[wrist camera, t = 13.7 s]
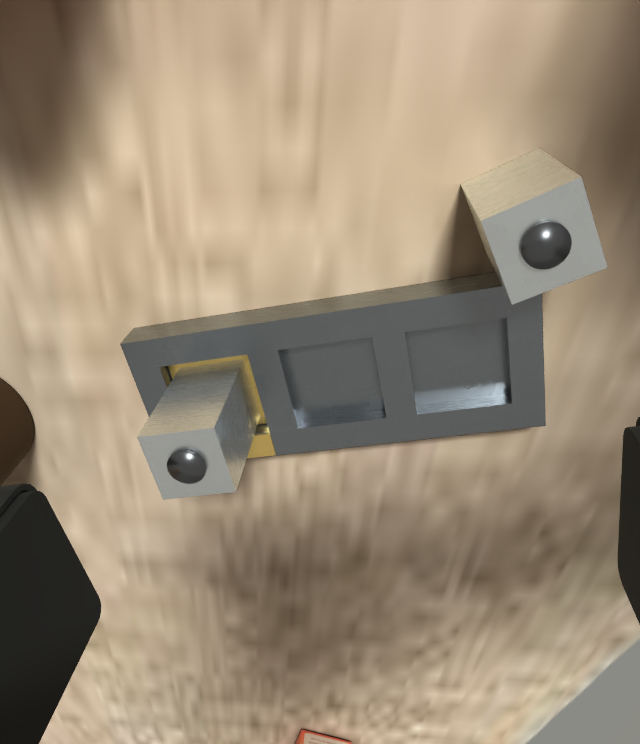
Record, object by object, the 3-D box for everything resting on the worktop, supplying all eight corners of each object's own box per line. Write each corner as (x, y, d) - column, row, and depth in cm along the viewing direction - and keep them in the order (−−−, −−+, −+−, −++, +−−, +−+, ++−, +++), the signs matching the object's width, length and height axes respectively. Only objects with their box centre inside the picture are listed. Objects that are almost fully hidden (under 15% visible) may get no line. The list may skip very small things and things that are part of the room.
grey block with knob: (243, 358, 39) (212, 430, 32) (260, 415, 41) (234, 495, 34) (179, 368, 40) (135, 440, 33) (199, 423, 42) (161, 502, 35)
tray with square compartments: (532, 266, 36) (541, 281, 34) (537, 405, 41) (546, 426, 38) (133, 328, 40) (119, 344, 38) (178, 447, 45) (168, 468, 43)
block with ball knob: (539, 147, 33) (583, 178, 26) (562, 221, 35) (609, 269, 27) (460, 184, 34) (481, 222, 27) (486, 253, 36) (513, 307, 29)
